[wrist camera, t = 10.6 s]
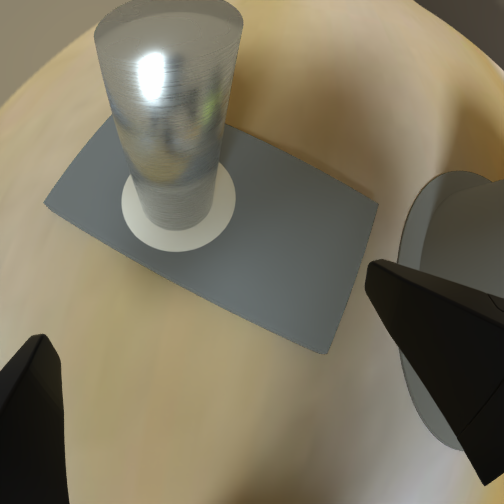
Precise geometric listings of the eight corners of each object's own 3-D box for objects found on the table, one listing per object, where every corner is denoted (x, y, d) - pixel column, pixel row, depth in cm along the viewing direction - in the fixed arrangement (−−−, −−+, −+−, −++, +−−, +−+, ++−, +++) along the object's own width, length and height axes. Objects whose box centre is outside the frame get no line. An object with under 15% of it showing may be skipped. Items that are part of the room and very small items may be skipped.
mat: (370, 210, 22) (379, 203, 21) (319, 353, 18) (327, 353, 17) (137, 98, 21) (136, 87, 20) (50, 209, 18) (42, 201, 16)
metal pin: (228, 194, 19) (273, 23, 7) (177, 246, 17) (156, 85, 6) (177, 153, 19) (176, -18, 8) (126, 199, 18) (69, 32, 6)
